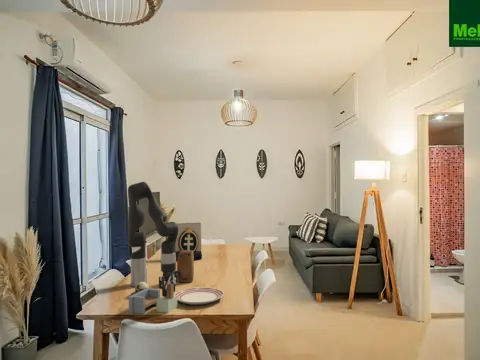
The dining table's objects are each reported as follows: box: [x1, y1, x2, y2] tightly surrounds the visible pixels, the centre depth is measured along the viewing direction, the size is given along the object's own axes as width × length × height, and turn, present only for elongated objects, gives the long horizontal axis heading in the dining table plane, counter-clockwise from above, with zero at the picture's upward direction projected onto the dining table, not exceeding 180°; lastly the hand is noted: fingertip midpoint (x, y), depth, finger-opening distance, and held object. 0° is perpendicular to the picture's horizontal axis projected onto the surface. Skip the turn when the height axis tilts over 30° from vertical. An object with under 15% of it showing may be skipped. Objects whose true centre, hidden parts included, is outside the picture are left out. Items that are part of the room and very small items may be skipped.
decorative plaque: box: [175, 222, 203, 262], centre depth 290 cm, size 21×11×30 cm, turn 104°
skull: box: [130, 282, 150, 296], centre depth 200 cm, size 12×10×10 cm
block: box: [176, 250, 195, 283], centre depth 226 cm, size 11×8×20 cm
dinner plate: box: [174, 286, 225, 306], centre depth 192 cm, size 27×27×3 cm
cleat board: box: [128, 287, 161, 315], centre depth 179 cm, size 8×16×8 cm, turn 158°
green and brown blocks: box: [156, 282, 178, 314], centre depth 177 cm, size 7×8×13 cm
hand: (168, 293), depth 177 cm, fingers open, 7 cm apart
